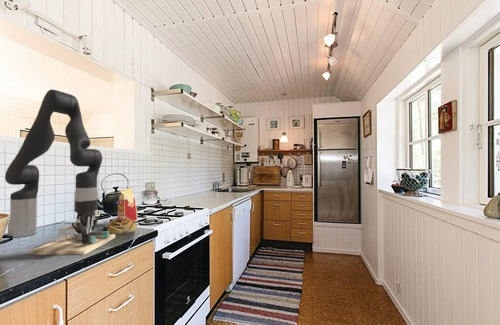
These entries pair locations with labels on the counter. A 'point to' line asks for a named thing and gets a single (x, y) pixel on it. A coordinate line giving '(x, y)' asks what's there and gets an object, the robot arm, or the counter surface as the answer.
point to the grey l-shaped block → (64, 232)
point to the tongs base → (96, 234)
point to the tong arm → (79, 238)
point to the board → (70, 246)
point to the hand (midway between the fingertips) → (85, 243)
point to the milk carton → (127, 205)
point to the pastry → (121, 226)
